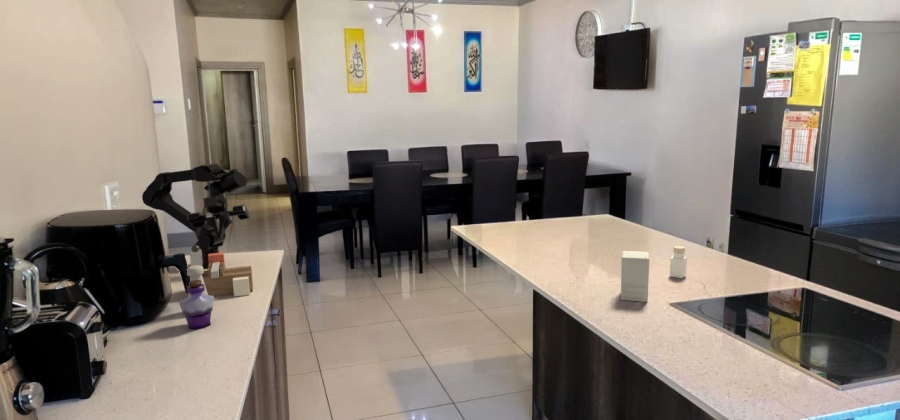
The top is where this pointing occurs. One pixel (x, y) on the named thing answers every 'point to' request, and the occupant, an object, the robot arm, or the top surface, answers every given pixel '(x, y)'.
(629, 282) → the supplement box
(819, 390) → the top surface
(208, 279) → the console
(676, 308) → the top surface
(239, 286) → the cream button
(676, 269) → the pepper shaker
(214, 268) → the red plunger
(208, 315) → the potion bottle
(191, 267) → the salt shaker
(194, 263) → the lever
